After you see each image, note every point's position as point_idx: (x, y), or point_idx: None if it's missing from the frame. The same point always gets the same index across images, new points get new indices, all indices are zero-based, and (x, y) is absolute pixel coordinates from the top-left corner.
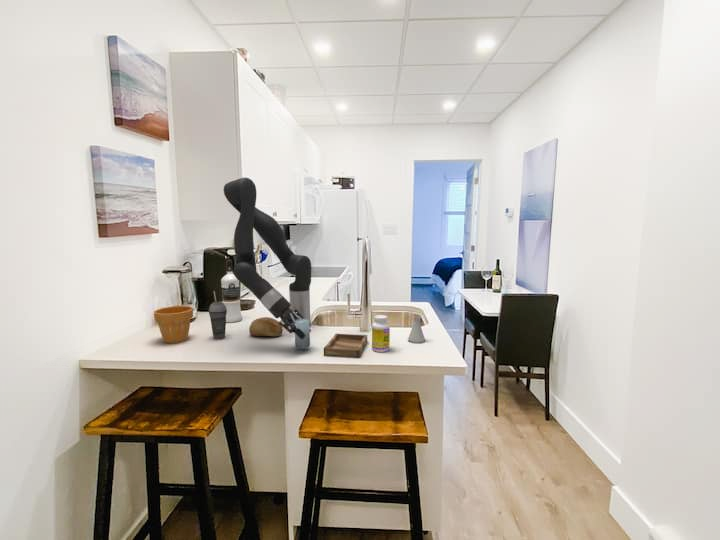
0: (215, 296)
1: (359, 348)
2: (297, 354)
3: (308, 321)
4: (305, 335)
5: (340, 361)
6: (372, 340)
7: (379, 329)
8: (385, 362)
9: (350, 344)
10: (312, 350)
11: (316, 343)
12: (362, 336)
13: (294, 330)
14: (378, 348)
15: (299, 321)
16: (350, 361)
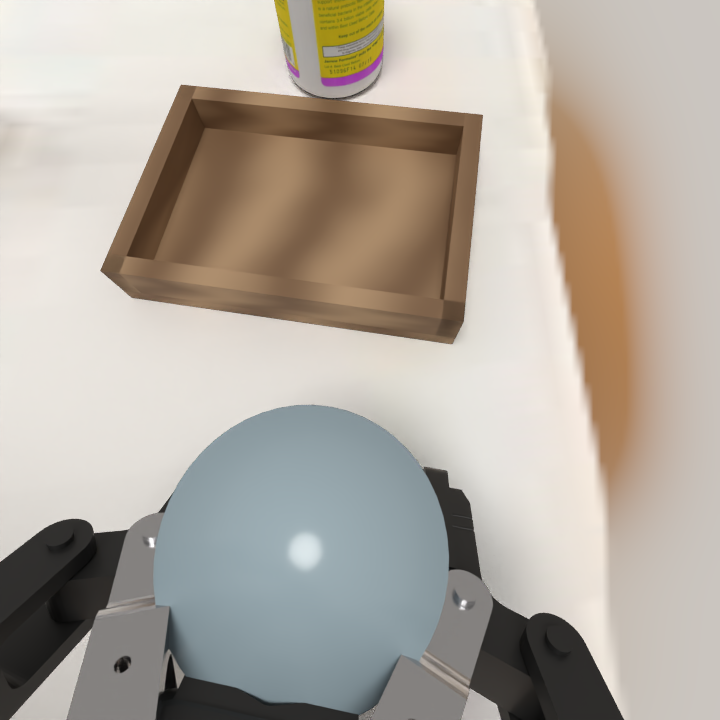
0: None
1: (445, 113)
2: None
3: (347, 411)
4: (429, 468)
5: (534, 239)
6: (346, 37)
7: None
8: (515, 52)
9: (271, 194)
10: None
11: (182, 431)
12: (190, 113)
13: (518, 626)
14: (380, 53)
15: (359, 585)
16: (525, 191)
